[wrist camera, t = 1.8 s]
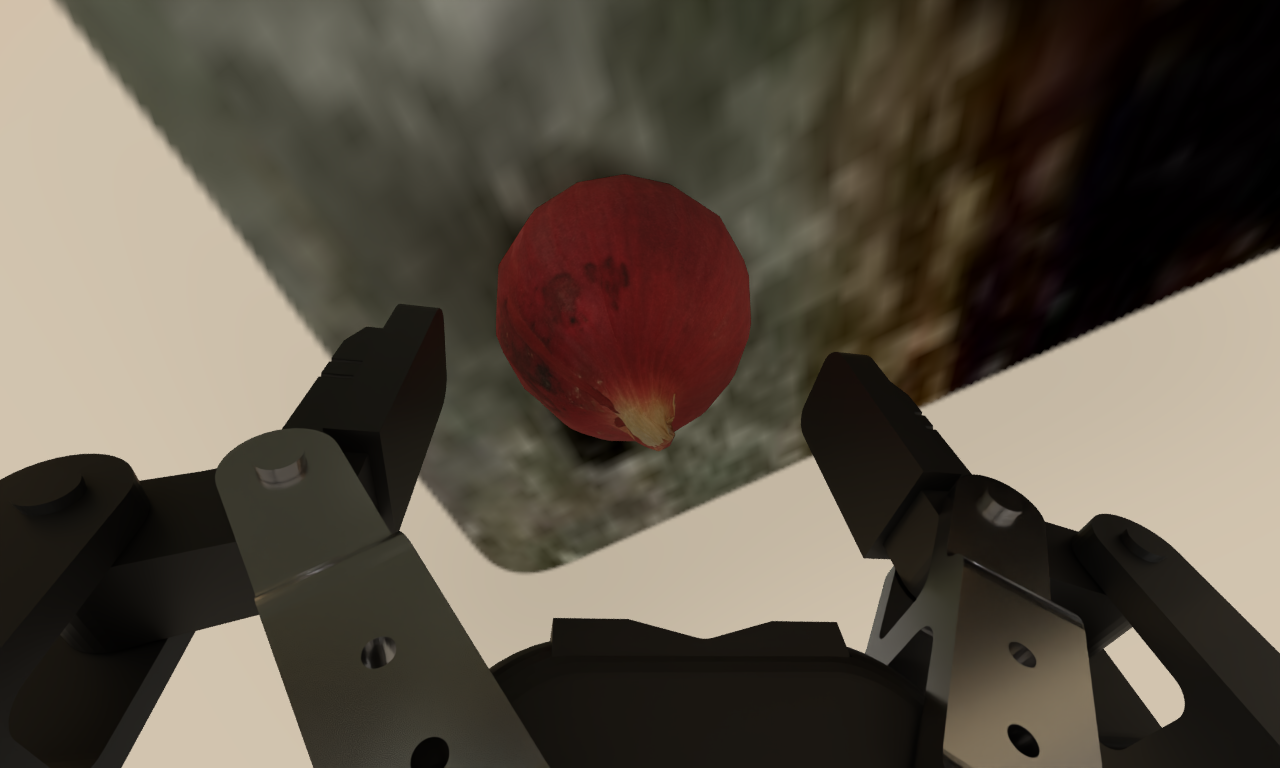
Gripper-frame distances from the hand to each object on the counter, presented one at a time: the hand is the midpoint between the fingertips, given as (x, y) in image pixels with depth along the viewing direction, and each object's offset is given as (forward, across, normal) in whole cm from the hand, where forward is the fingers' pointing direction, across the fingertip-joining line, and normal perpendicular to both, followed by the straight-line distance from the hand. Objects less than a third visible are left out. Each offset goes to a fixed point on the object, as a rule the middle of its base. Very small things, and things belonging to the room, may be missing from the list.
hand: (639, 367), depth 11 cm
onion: (+6, 0, 0) cm, 6 cm away
